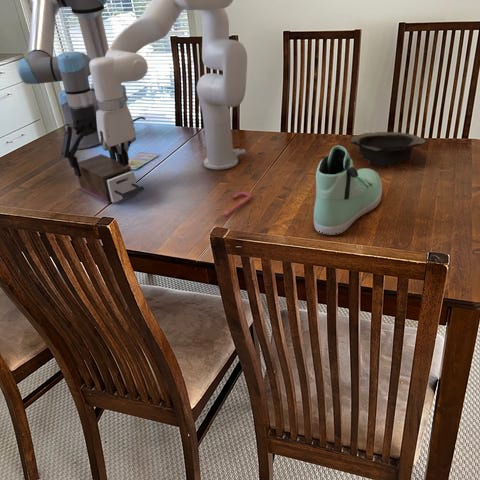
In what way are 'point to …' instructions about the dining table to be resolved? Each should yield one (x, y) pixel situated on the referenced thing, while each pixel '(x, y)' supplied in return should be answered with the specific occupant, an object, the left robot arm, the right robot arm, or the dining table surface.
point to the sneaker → (343, 192)
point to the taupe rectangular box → (99, 175)
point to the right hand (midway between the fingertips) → (124, 164)
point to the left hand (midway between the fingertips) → (96, 169)
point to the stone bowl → (386, 147)
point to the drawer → (122, 186)
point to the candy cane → (237, 206)
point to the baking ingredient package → (140, 160)
